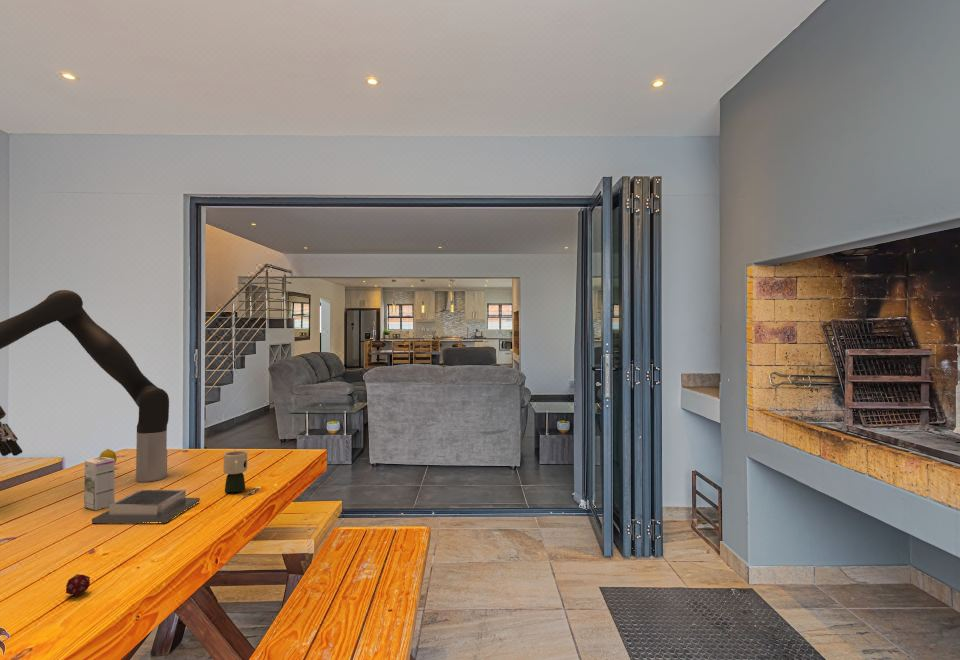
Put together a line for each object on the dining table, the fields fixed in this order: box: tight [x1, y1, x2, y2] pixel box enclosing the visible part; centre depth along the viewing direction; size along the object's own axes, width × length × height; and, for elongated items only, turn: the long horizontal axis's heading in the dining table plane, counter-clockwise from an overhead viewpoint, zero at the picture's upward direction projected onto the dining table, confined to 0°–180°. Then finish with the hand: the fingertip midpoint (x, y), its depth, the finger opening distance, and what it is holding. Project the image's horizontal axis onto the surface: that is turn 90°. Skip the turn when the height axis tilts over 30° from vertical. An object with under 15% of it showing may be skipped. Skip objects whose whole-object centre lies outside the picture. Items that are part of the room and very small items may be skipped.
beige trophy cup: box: [223, 450, 248, 493], centre depth 169 cm, size 11×7×13 cm, turn 30°
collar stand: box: [91, 489, 201, 524], centre depth 149 cm, size 18×20×4 cm
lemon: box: [98, 448, 117, 464], centre depth 194 cm, size 6×6×8 cm
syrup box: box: [83, 456, 116, 511], centre depth 153 cm, size 6×6×14 cm
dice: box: [65, 573, 91, 597], centre depth 102 cm, size 4×4×4 cm
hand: (13, 454), depth 149 cm, fingers open, 8 cm apart
